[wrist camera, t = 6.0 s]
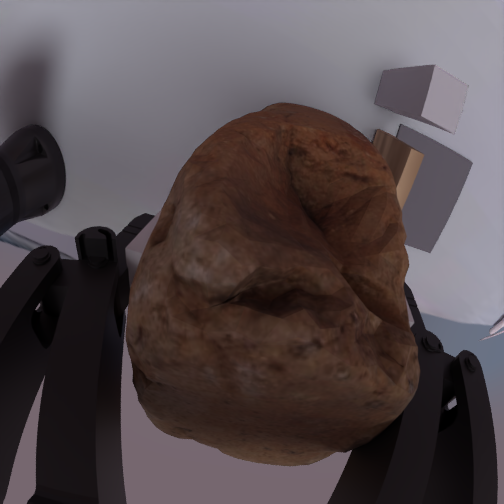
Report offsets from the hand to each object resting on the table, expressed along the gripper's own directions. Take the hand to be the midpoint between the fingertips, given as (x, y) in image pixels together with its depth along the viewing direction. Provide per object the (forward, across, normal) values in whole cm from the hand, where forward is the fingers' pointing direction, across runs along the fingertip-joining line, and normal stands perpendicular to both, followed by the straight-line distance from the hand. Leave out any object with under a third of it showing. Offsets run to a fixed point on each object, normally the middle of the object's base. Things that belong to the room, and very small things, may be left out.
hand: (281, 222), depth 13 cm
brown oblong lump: (+10, 0, 0) cm, 10 cm away
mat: (+18, +16, 0) cm, 24 cm away
